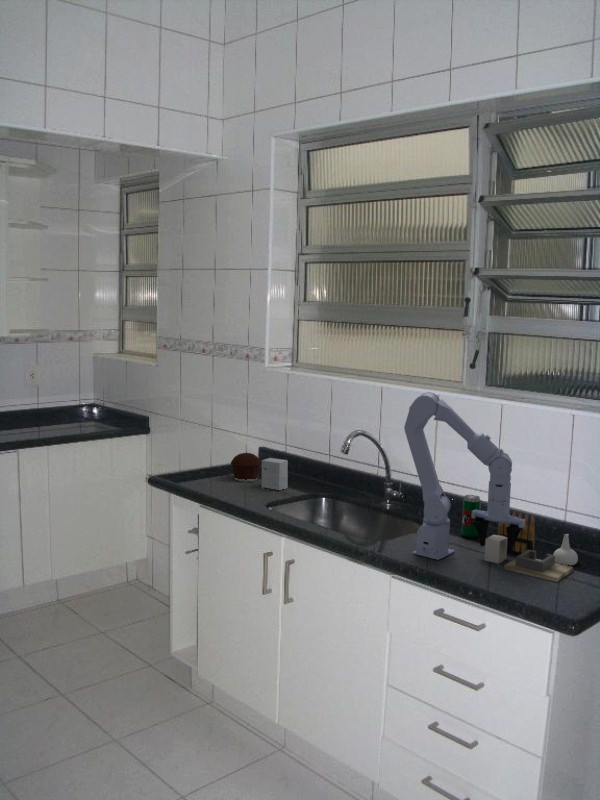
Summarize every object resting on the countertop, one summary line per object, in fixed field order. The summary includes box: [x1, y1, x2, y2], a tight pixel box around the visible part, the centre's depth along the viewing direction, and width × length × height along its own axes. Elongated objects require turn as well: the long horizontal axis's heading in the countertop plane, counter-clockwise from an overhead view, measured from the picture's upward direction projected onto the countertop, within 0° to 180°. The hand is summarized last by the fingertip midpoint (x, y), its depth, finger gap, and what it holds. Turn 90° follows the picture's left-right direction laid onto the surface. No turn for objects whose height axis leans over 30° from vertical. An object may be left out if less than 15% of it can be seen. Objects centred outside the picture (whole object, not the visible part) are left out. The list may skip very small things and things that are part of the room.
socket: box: [515, 550, 556, 573], centre depth 204 cm, size 8×7×2 cm
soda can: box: [461, 494, 482, 539], centre depth 231 cm, size 5×5×12 cm
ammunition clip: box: [496, 511, 536, 557], centre depth 215 cm, size 11×2×12 cm, turn 51°
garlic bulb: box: [552, 533, 579, 566], centre depth 210 cm, size 6×6×8 cm
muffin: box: [230, 452, 262, 480], centre depth 297 cm, size 12×11×10 cm
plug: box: [484, 534, 508, 564], centre depth 211 cm, size 6×4×6 cm
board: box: [503, 558, 574, 583], centre depth 203 cm, size 11×14×1 cm
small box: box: [261, 457, 289, 491], centre depth 284 cm, size 8×6×10 cm
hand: (496, 548), depth 210 cm, fingers open, 7 cm apart
